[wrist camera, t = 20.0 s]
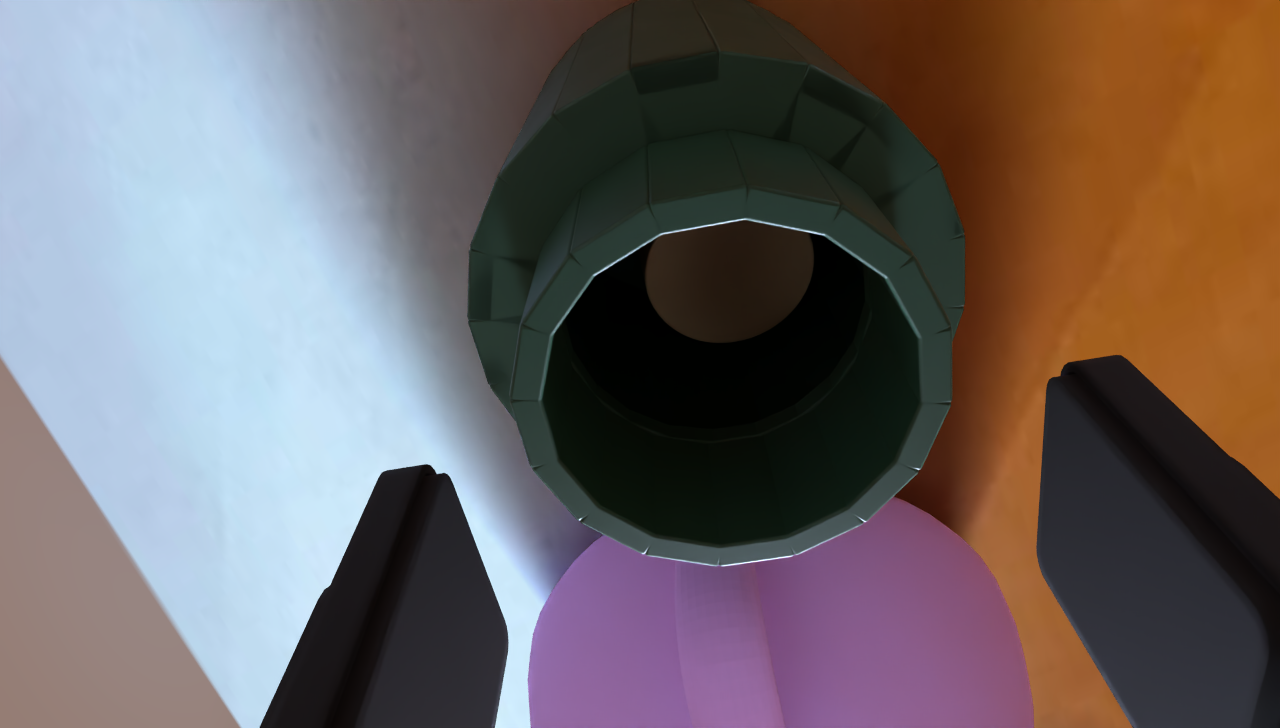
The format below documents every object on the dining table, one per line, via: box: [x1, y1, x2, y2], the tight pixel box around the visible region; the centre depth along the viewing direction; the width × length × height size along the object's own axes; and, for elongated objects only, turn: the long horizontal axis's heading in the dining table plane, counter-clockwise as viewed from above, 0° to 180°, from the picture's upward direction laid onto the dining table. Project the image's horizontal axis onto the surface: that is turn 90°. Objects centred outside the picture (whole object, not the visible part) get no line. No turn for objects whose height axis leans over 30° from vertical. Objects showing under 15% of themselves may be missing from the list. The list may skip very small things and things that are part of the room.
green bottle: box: [467, 0, 965, 566], centre depth 18 cm, size 9×9×13 cm
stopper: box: [638, 220, 814, 343], centre depth 21 cm, size 4×4×6 cm
